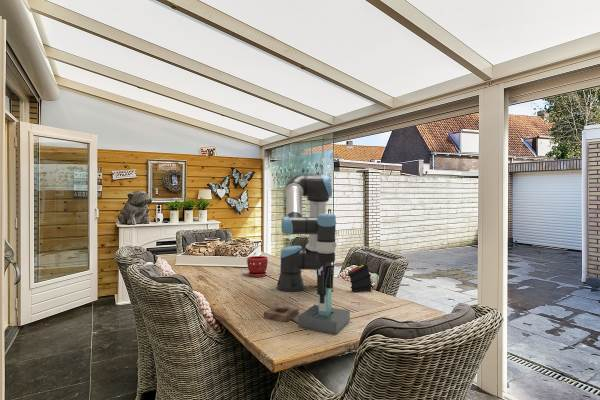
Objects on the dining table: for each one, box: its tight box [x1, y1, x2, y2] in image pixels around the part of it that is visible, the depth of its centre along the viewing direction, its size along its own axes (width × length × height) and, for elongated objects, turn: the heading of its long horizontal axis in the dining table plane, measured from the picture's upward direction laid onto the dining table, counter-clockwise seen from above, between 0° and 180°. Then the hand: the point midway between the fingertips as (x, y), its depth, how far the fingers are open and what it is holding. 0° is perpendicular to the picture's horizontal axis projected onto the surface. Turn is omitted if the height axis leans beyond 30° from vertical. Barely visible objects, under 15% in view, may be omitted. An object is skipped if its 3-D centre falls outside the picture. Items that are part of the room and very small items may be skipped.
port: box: [297, 304, 351, 335], centre depth 146 cm, size 16×16×4 cm
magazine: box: [347, 263, 373, 293], centre depth 198 cm, size 4×13×15 cm, turn 107°
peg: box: [318, 288, 333, 316], centre depth 146 cm, size 4×4×12 cm
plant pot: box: [246, 255, 269, 278], centre depth 231 cm, size 13×13×12 cm
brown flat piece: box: [263, 304, 300, 323], centre depth 155 cm, size 11×11×2 cm
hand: (324, 309), depth 146 cm, fingers closed on peg, 4 cm apart
